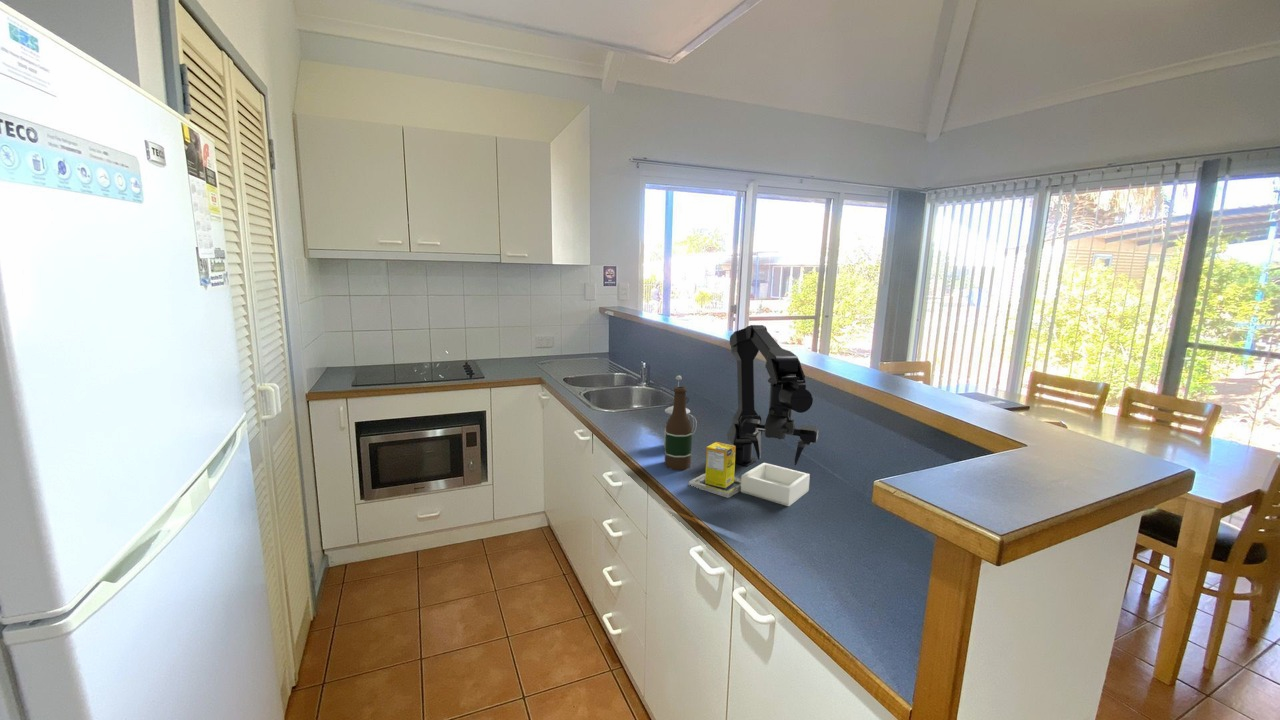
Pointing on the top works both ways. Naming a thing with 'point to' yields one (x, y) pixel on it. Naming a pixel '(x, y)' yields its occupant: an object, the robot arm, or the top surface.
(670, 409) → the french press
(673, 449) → the beer bottle
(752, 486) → the bin
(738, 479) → the collar
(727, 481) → the supplement box
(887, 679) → the top surface
